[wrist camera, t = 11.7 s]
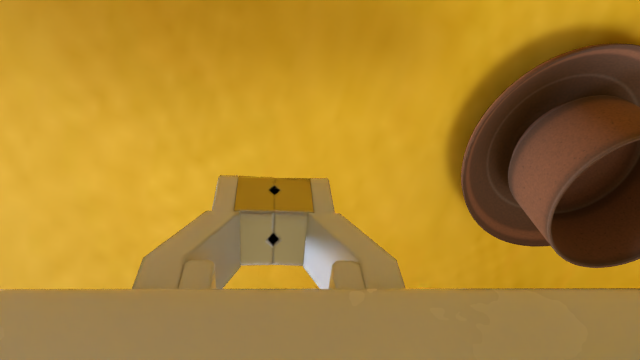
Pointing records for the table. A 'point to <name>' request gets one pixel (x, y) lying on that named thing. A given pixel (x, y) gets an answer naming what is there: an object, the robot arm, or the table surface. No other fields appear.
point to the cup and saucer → (563, 158)
